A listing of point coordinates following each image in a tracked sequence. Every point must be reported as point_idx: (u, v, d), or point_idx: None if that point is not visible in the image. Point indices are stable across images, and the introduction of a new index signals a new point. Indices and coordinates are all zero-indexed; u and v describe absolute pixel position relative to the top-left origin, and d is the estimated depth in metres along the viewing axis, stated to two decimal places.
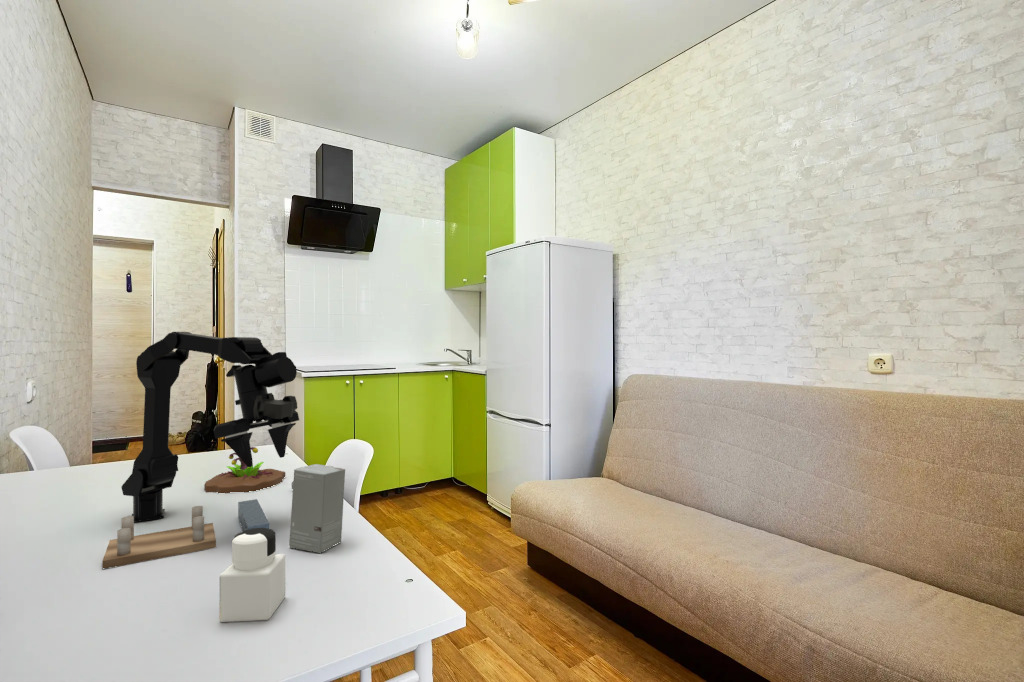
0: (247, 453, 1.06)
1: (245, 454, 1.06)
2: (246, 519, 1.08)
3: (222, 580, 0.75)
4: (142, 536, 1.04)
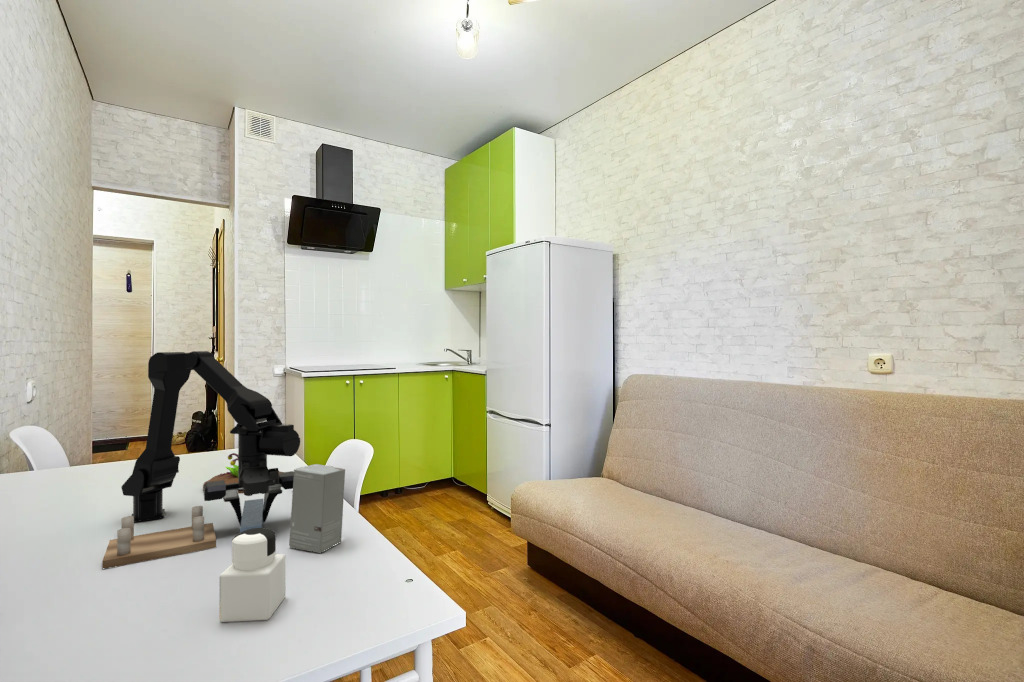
0: (236, 514, 1.11)
1: (236, 514, 1.11)
2: (242, 519, 1.08)
3: (222, 580, 0.75)
4: (142, 536, 1.04)
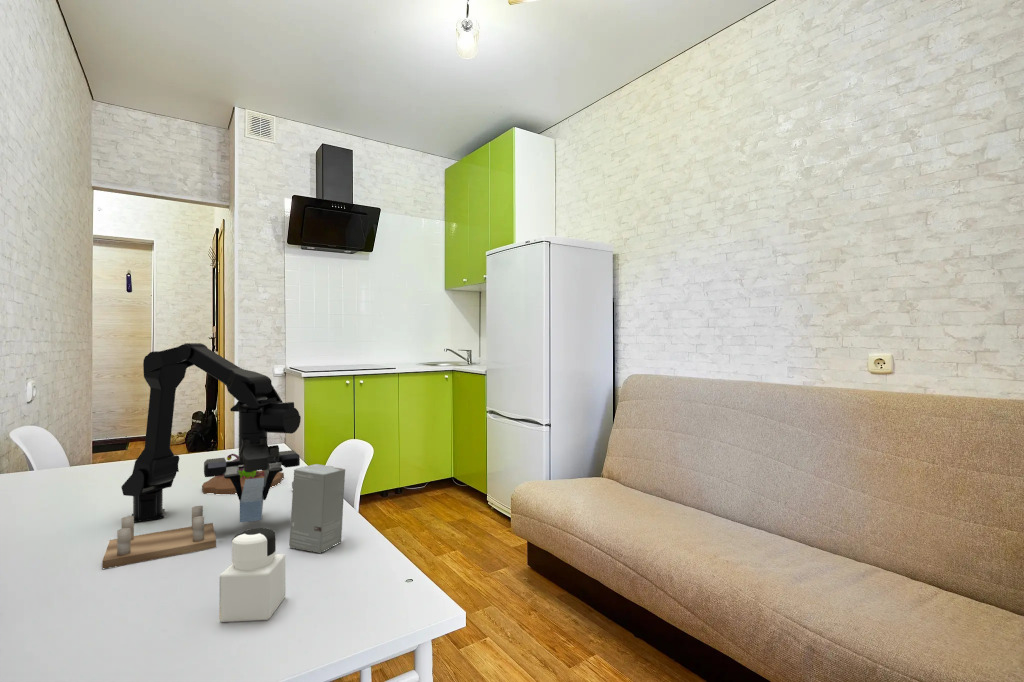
0: None
1: None
2: (242, 495, 1.08)
3: (222, 580, 0.75)
4: (142, 536, 1.04)
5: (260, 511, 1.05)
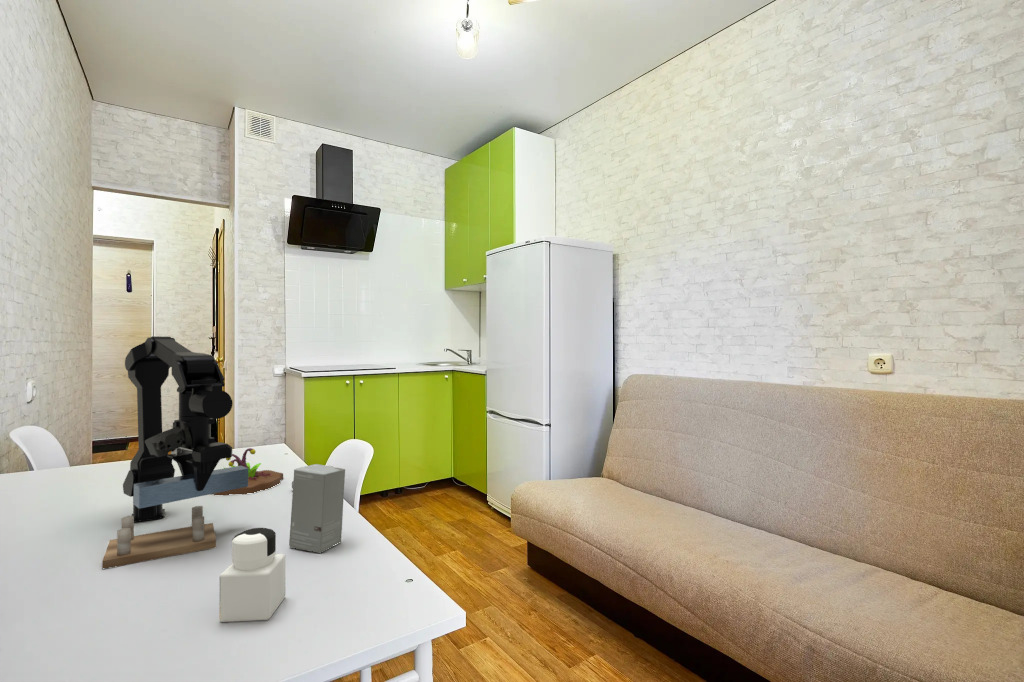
0: None
1: None
2: None
3: (222, 580, 0.75)
4: (142, 536, 1.04)
5: (139, 499, 0.97)
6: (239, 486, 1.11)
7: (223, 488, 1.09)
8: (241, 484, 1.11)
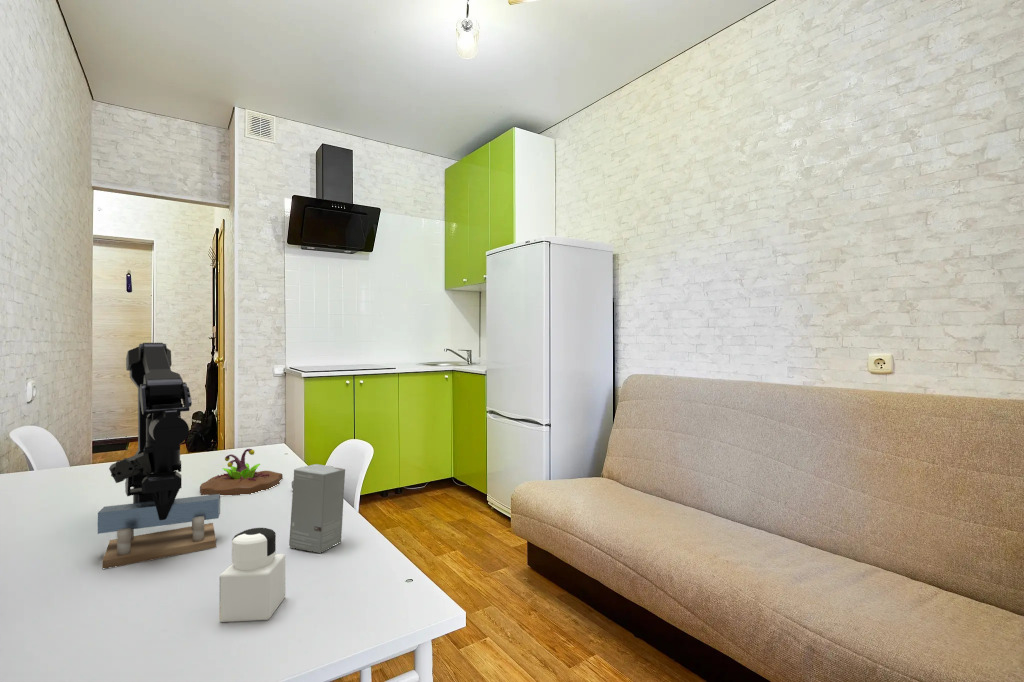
0: None
1: None
2: (136, 503, 1.02)
3: (222, 580, 0.75)
4: (142, 536, 1.04)
5: (98, 524, 0.97)
6: (208, 517, 1.04)
7: (189, 518, 1.03)
8: (210, 515, 1.04)
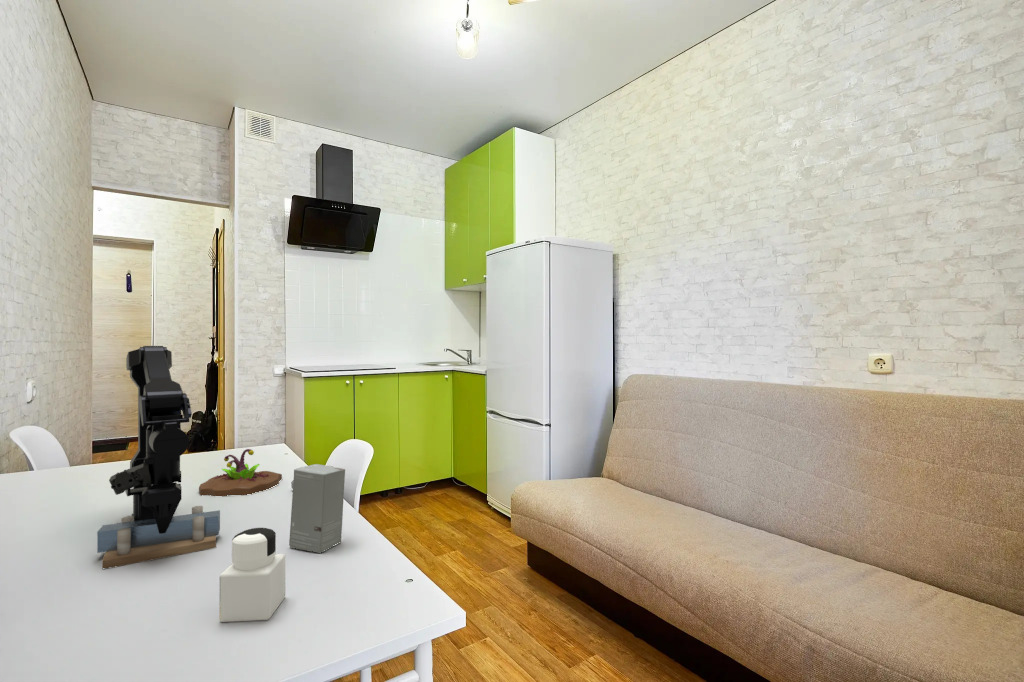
0: None
1: None
2: (135, 521, 1.02)
3: (222, 580, 0.75)
4: None
5: (97, 543, 0.96)
6: (208, 534, 1.04)
7: (189, 536, 1.03)
8: (211, 532, 1.05)
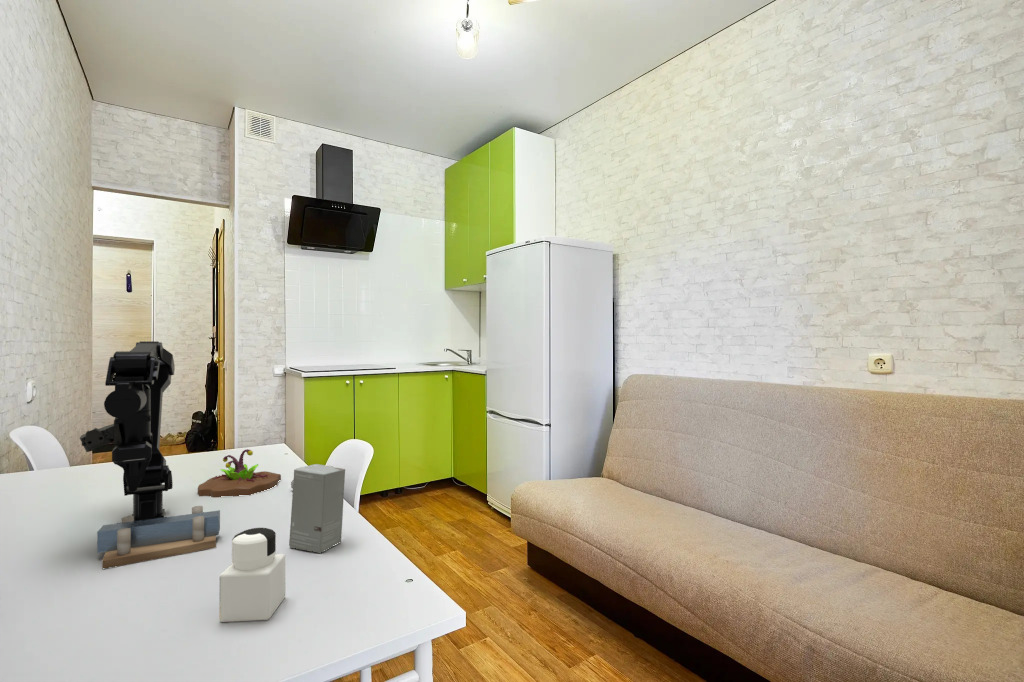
0: None
1: None
2: (135, 521, 1.02)
3: (222, 580, 0.75)
4: None
5: (97, 543, 0.96)
6: (208, 534, 1.04)
7: (189, 536, 1.03)
8: (211, 532, 1.05)
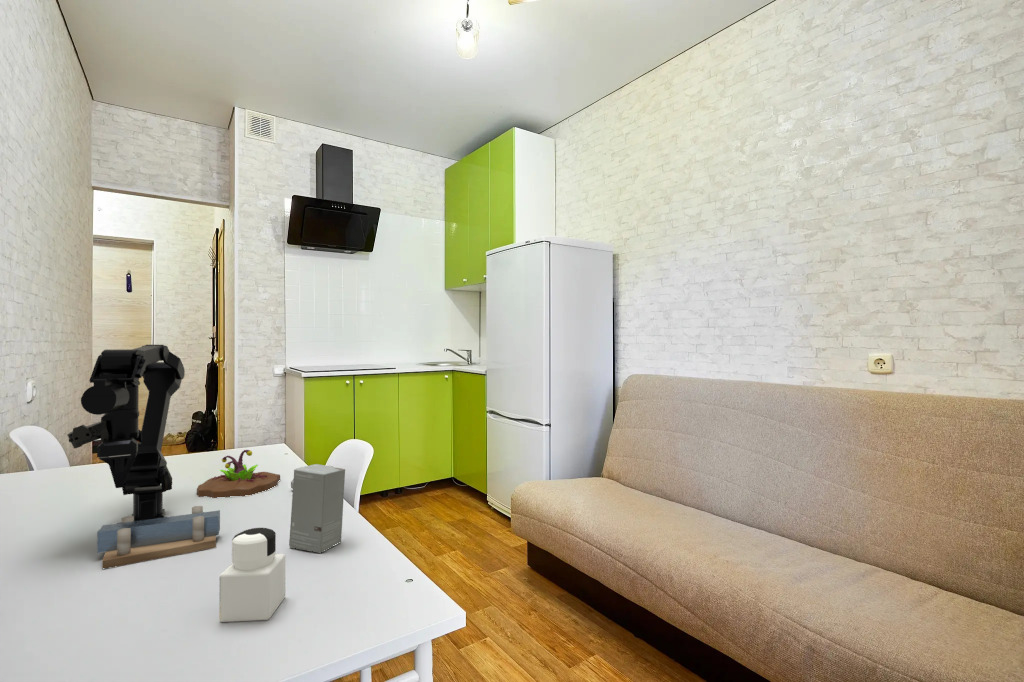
0: None
1: None
2: (135, 521, 1.02)
3: (222, 580, 0.75)
4: None
5: (97, 543, 0.96)
6: (208, 534, 1.04)
7: (189, 536, 1.03)
8: (211, 532, 1.05)
